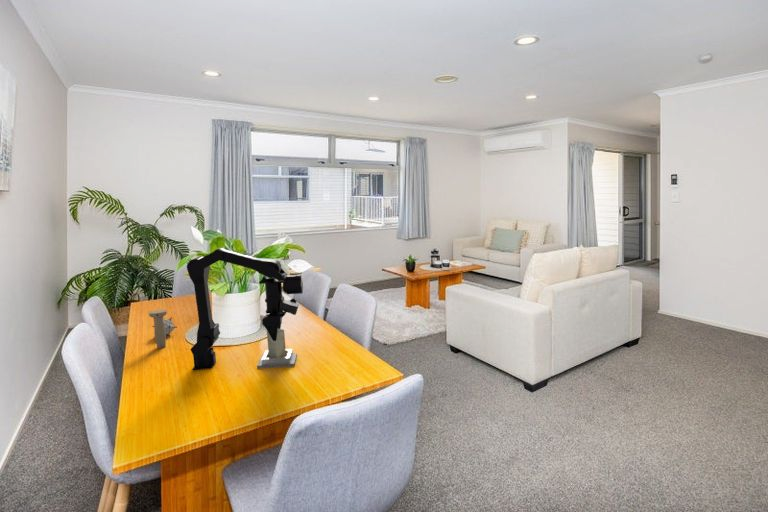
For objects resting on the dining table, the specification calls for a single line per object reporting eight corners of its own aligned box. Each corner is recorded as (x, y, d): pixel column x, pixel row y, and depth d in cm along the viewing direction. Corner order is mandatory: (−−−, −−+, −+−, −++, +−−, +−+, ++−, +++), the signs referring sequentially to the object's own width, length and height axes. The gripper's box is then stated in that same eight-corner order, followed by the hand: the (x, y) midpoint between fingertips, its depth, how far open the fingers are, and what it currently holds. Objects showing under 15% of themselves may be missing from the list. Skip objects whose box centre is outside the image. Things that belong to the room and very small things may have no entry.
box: (286, 358, 156) (285, 329, 154) (277, 362, 153) (275, 333, 151) (277, 355, 159) (275, 327, 157) (268, 359, 156) (266, 330, 154)
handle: (169, 347, 172) (166, 312, 170) (151, 350, 170) (148, 314, 168) (170, 343, 177) (167, 309, 175) (153, 346, 174) (149, 311, 172)
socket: (257, 368, 150) (256, 360, 150) (262, 357, 160) (261, 350, 160) (294, 366, 152) (293, 358, 151) (297, 355, 161) (296, 348, 161)
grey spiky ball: (162, 343, 189) (154, 323, 191) (181, 333, 192) (173, 314, 194) (156, 339, 181) (147, 319, 183) (176, 330, 183) (167, 310, 186)
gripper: (294, 300, 144) (296, 344, 146) (299, 287, 162) (301, 327, 164) (260, 301, 143) (263, 346, 145) (269, 289, 161) (271, 328, 163)
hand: (276, 336), depth 154 cm, fingers open, 9 cm apart
